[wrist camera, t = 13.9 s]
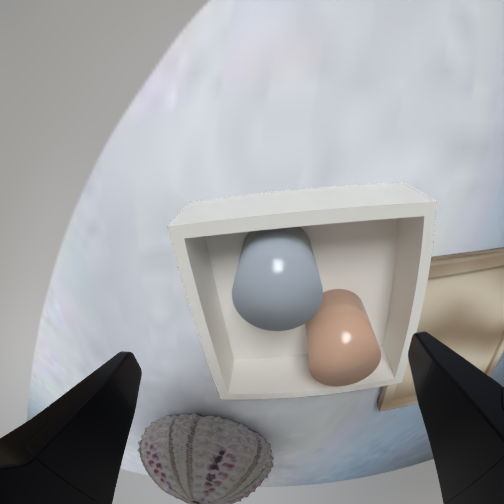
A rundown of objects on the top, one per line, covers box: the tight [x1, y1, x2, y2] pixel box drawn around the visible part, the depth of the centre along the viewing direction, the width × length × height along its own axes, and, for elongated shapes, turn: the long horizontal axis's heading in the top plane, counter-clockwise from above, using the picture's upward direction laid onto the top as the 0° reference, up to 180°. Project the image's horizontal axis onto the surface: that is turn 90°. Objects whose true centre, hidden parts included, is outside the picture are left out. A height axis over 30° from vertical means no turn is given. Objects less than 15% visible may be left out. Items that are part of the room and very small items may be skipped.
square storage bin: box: [167, 182, 437, 400], centre depth 15 cm, size 11×11×4 cm
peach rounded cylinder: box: [305, 289, 381, 386], centre depth 15 cm, size 4×4×4 cm
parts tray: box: [377, 247, 504, 411], centre depth 17 cm, size 14×12×1 cm
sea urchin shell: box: [138, 413, 273, 504], centre depth 22 cm, size 13×14×8 cm
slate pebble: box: [232, 227, 323, 331], centre depth 13 cm, size 4×4×4 cm
